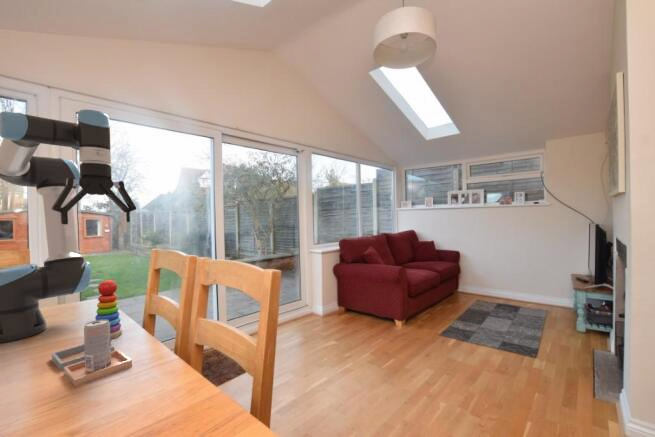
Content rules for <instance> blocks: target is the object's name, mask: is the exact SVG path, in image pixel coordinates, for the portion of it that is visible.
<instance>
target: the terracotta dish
mask: <svg viewBox="0 0 655 437" xmlns="http://www.w3.org/2000/svg"><path fill="white" fill-rule="evenodd" d="M131 367H133V360H132V358H131V357H129V356H128V355H126V354H125V353H124V352H122V351H121V350H120V349H116V350H115V349H114V351H112V352H111V365H110V367H107V368H104V369H101V370H98V371H96V372H93V373H88V372H86V371H85V361H81V362H78V363H75V364H72V365H69V366H66V367H64V370H63V375H64V376H65V378H66V379H67V380H68V381H69V383H70V384H71V385H72V386H73V387H74V388H77V387H80V386H83V385H86V384H88V383H91V382H93V381H96V380H99V379H101V378H104V377H108V376H110V375H114V374H115V373H118V372H120V371H123V370H125V369H128V368H131Z"/></svg>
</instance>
